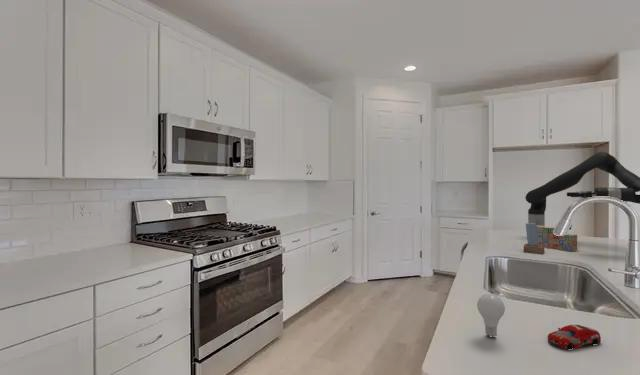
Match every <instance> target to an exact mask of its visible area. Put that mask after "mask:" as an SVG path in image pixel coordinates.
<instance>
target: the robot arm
mask: <svg viewBox="0 0 640 375" xmlns="http://www.w3.org/2000/svg"><path fill="white" fill-rule="evenodd" d="M596 168H597V169H599V170H601V171H603V172H605V173H608V174H610V175H612V176H614V178H616V179H617V180H618V181H619V182H620V184H622V185H623V186H624V187H613V186H611V187H595V188H594V190H593V191H594V192H593V191H592V190H586V191H585V190H584V191H581V190H579V191H575V192H574V191H573V192H571V191H570V192H569V191H568V192H566V197H570V198H583V199H588V198H587V197H592V196H610V197H615V198H618V199H620V200H623V201H625V202H626V203H627V202H628V203H629V202H630V203H633V204H639V205H640V194H637V193H638V192H640V176H638V175H636V174H635V173H634V172H632V171H630V170H629V169H627V168H626V167H624V166H623V165H622V164H621V163H620V162H619V160H618V159H617V158H616V157H615V156H613V155H612V154H610V153H608V152H606V151H599V152H597V153H594V154H592V155H590V157H588V158H587V159H585V160H584V161H582V162H580V163H578V164H577V165H576V166H574V167H572V168H571V169H569V170H567V171H565V172H563V173H561V174H560V175H558V176H556V177H554V178H552V179H551V180H549V181H548V182H546V183H545V184H543V185H541V186H539V187H537V188H535V189H532V190H530V191H528V192H527V193H526V195H525V200H526V202H527V203H529V204H530V207H529V208H528V211H527V216H528V218H527V219H528V220H527V223H535V224H536V225H537V226H538V225H539V226H546V225H545V223H546V221H545V219H546V216H545V215H546V214H545V212H546V209H547V197H549V196H551V195H553V194H557V193H561V192H563V191H565V190H568V189H570V188H572V187H573V186H576V185H577V184H578V183H580V181H581V180H582V179H583V177H584V176H585V175H586V174H587V173H589V172H591V171H593V170H595V169H596Z"/></svg>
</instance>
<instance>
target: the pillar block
mask: <svg viewBox="0 0 640 375" xmlns="http://www.w3.org/2000/svg"><path fill="white" fill-rule="evenodd" d="M525 230H526V240H527V244H528V245H530V246H537V245H539V243H538V234H537V225H536V224H535V223H528V222H527V223H525Z"/></svg>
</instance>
